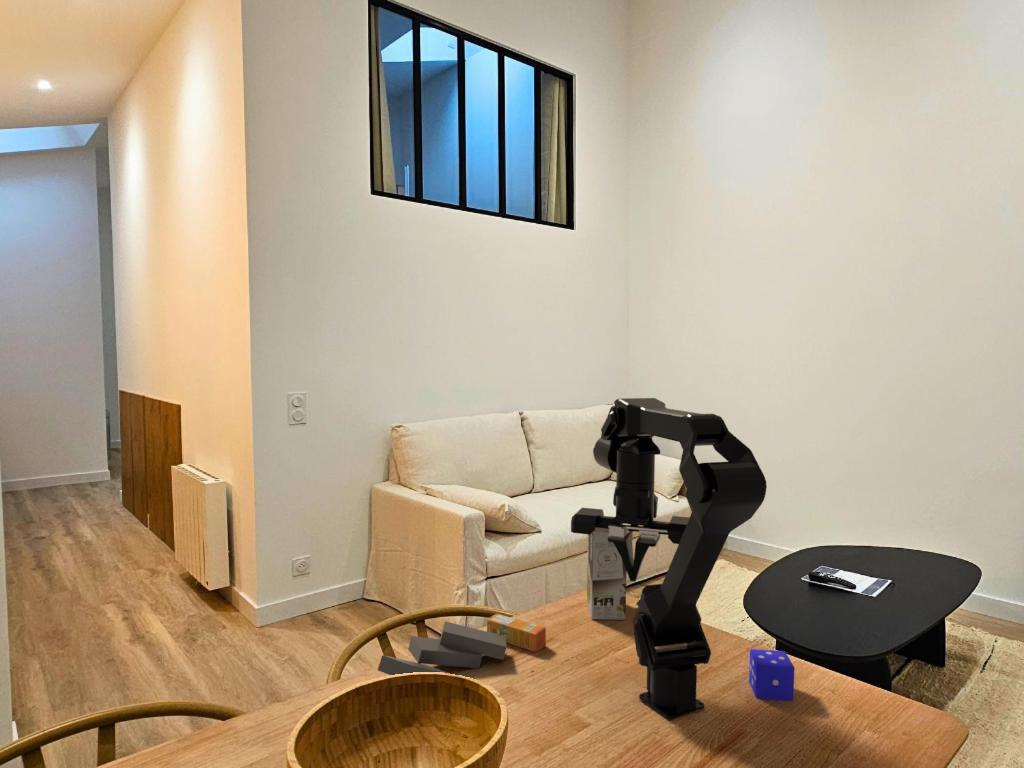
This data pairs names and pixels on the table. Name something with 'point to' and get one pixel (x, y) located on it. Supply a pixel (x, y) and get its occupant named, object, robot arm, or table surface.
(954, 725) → the table surface
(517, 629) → the supplement box
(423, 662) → the domino
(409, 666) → the domino
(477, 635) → the domino
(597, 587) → the coffee box
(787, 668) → the die
